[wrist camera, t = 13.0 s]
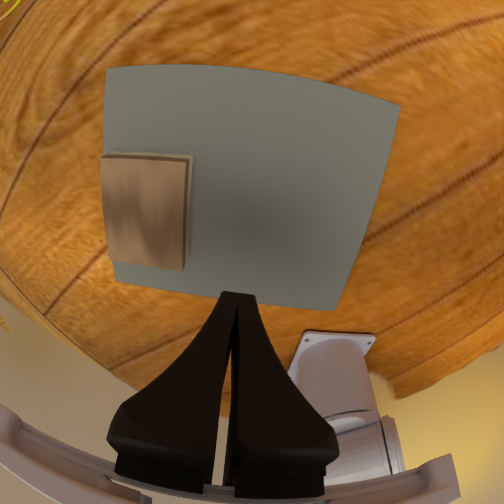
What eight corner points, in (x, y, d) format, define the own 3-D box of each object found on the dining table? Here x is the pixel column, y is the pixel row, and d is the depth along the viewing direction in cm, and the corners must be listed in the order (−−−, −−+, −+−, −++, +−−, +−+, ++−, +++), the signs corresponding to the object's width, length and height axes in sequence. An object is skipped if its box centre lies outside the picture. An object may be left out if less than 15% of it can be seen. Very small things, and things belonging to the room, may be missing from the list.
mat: (333, 308, 25) (334, 311, 24) (117, 278, 24) (115, 281, 23) (398, 105, 15) (400, 106, 15) (109, 68, 14) (106, 68, 14)
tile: (182, 271, 20) (109, 260, 20) (188, 256, 22) (119, 246, 21) (185, 162, 16) (99, 158, 16) (193, 155, 17) (113, 150, 17)
